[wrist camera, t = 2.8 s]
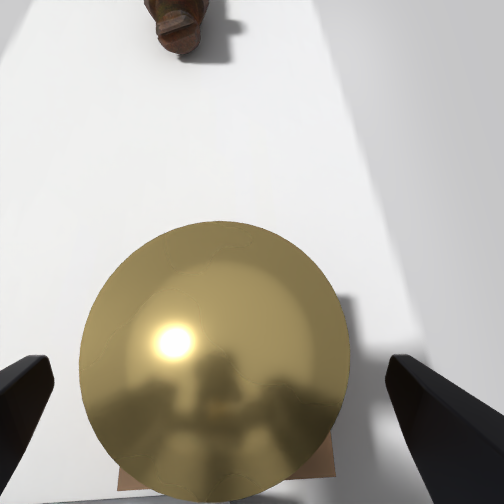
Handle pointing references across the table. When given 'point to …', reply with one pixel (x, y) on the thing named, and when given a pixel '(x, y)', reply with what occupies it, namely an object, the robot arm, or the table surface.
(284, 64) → the table surface
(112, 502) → the tray
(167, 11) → the bolt
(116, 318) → the pin
